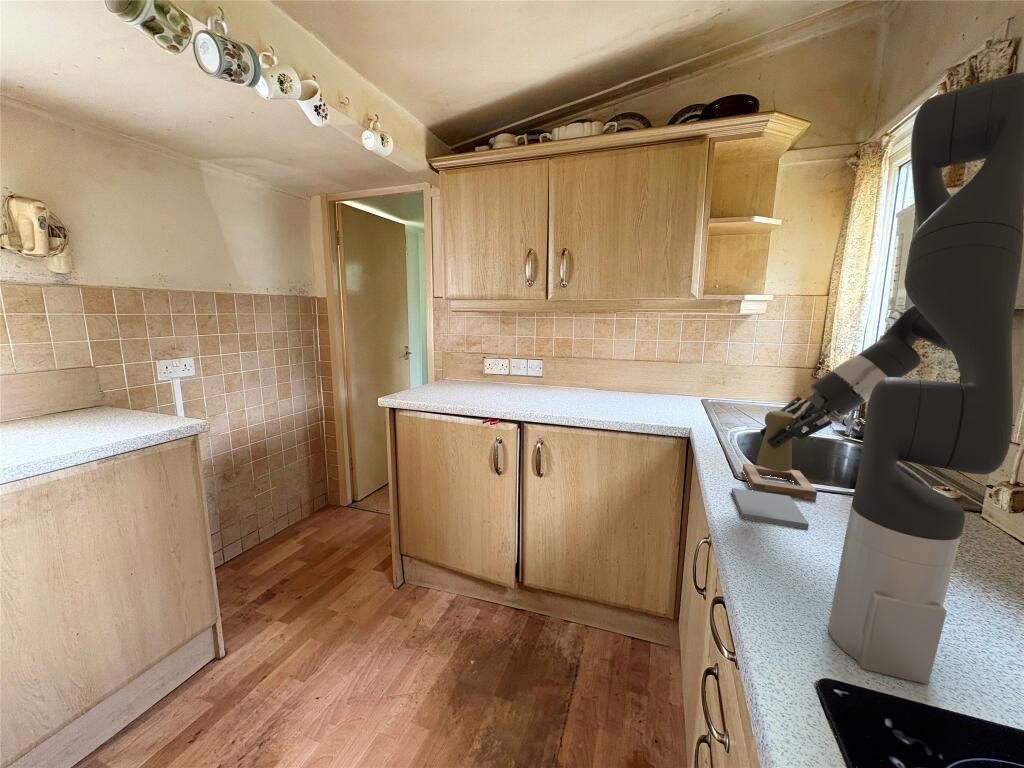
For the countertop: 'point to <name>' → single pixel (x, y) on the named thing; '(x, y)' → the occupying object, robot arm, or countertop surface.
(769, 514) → the slate pad
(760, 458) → the cork
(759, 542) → the countertop surface
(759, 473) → the walnut socket
